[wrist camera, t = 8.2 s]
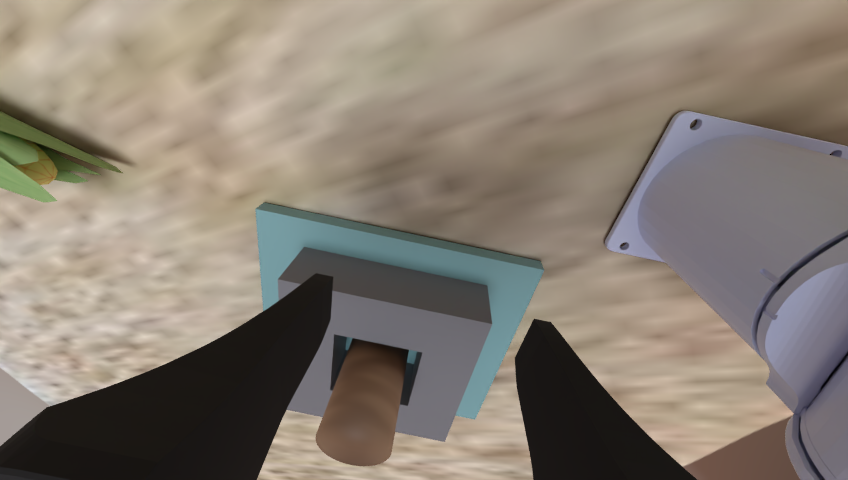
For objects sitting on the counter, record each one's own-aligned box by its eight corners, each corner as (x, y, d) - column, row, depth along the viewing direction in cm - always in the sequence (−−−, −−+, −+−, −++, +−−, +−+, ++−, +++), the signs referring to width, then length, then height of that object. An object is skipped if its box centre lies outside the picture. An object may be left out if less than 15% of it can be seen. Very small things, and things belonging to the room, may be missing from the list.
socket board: (540, 261, 21) (559, 308, 17) (474, 408, 29) (477, 463, 25) (264, 202, 21) (218, 236, 17) (274, 367, 29) (245, 416, 25)
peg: (409, 311, 23) (387, 425, 16) (412, 352, 25) (394, 468, 18) (353, 309, 23) (308, 419, 16) (361, 349, 25) (323, 462, 18)
